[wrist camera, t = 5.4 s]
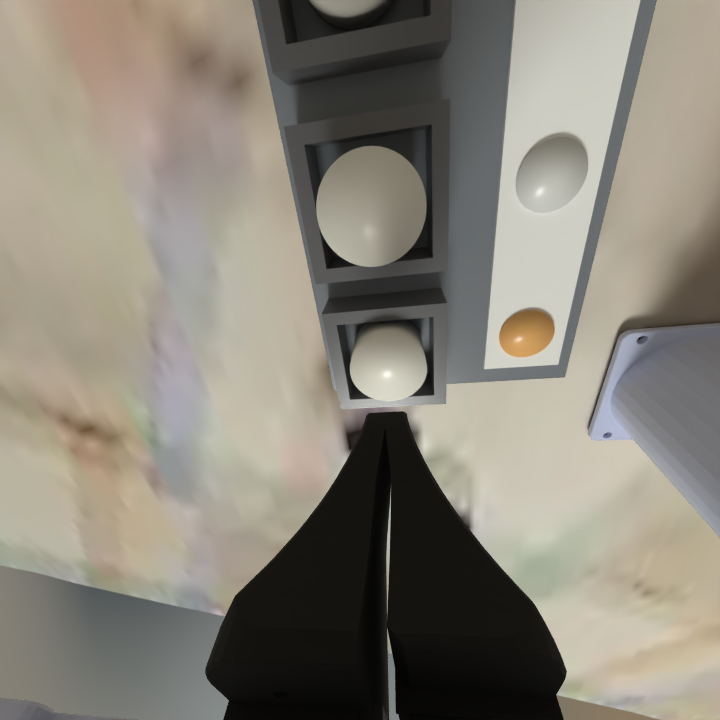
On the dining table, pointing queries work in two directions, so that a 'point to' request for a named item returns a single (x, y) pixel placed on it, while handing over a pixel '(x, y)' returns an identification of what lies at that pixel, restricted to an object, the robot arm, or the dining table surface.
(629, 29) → the button board
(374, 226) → the button middle
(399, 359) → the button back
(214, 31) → the dining table surface
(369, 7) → the button front
